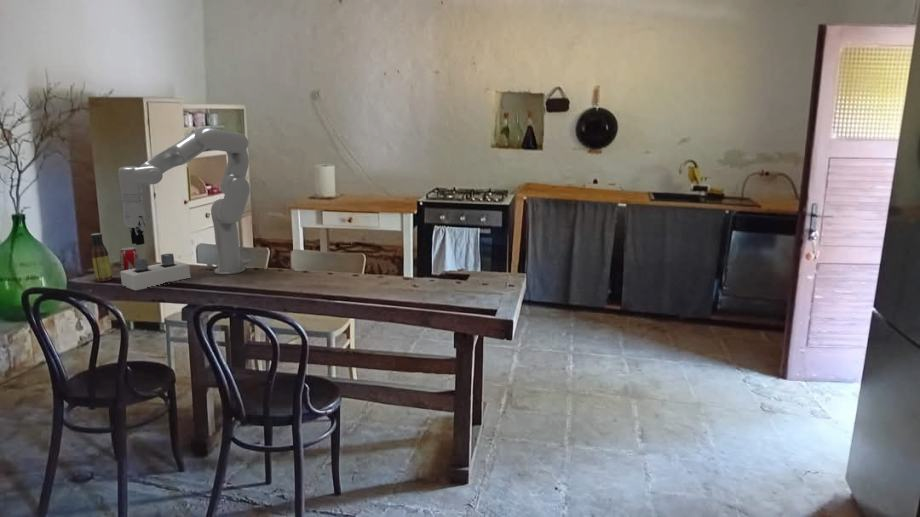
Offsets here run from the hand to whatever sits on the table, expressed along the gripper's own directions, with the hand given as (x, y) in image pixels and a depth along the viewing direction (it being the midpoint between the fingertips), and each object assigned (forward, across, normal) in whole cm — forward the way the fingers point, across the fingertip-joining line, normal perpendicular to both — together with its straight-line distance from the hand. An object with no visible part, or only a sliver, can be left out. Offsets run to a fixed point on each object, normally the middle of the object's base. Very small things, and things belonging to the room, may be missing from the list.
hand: (138, 243), depth 266 cm
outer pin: (+13, 0, 0) cm, 13 cm away
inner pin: (+13, 0, +11) cm, 17 cm away
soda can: (+17, -20, +4) cm, 27 cm away
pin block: (+17, 0, +6) cm, 18 cm away
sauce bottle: (+17, -21, -7) cm, 28 cm away
